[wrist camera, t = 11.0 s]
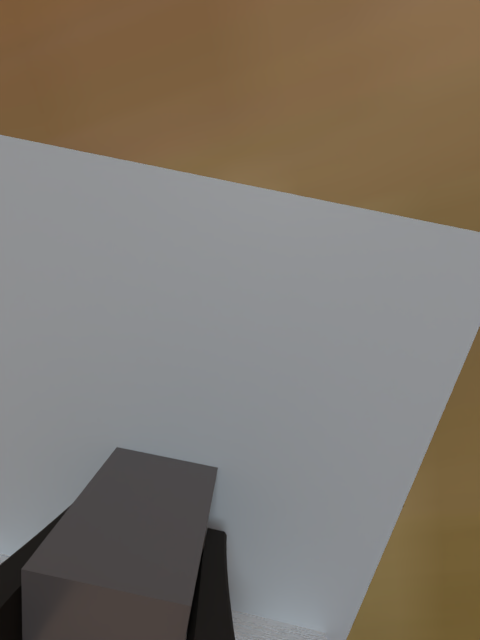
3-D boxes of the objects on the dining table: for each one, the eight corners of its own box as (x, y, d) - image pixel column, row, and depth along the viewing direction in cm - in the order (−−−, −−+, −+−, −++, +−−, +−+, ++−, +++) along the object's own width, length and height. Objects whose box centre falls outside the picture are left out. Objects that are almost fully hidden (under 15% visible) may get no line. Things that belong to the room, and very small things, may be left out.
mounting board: (244, 850, 16) (243, 880, 15) (-18, 780, 17) (-31, 805, 16) (490, 242, 8) (516, 239, 7) (-37, 135, 8) (-66, 121, 8)
